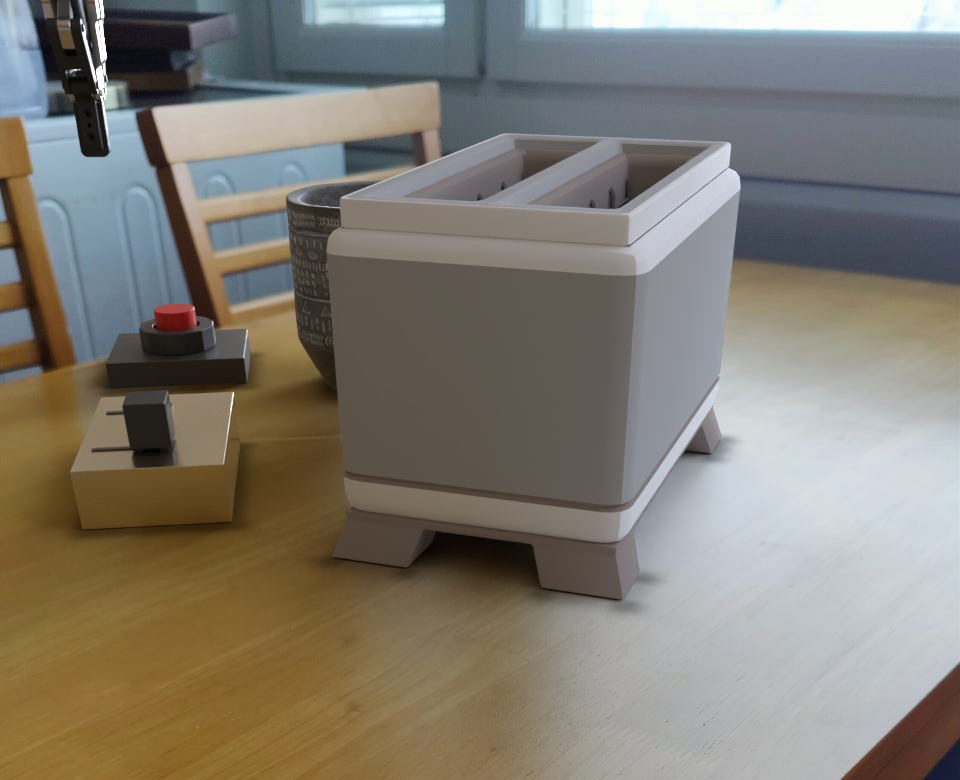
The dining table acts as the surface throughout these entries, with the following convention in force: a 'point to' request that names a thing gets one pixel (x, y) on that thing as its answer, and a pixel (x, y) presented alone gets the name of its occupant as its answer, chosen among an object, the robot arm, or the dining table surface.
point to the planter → (315, 266)
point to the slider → (149, 419)
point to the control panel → (159, 467)
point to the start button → (175, 317)
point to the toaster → (530, 345)
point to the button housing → (179, 357)
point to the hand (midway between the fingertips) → (96, 155)
